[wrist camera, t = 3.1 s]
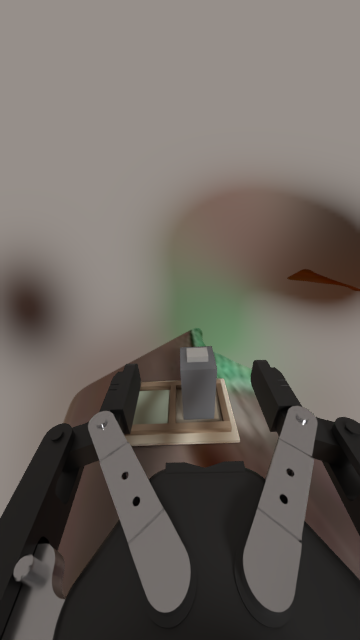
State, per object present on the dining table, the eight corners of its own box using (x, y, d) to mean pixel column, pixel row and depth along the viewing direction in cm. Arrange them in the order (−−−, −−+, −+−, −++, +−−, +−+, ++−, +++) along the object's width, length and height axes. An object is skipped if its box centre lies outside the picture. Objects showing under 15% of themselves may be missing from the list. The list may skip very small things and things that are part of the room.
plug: (209, 393, 37) (211, 341, 31) (214, 418, 32) (217, 363, 26) (183, 394, 37) (179, 342, 31) (183, 419, 32) (179, 364, 26)
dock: (223, 380, 40) (224, 374, 39) (239, 442, 29) (240, 435, 28) (125, 384, 40) (123, 378, 39) (106, 446, 30) (103, 440, 29)
